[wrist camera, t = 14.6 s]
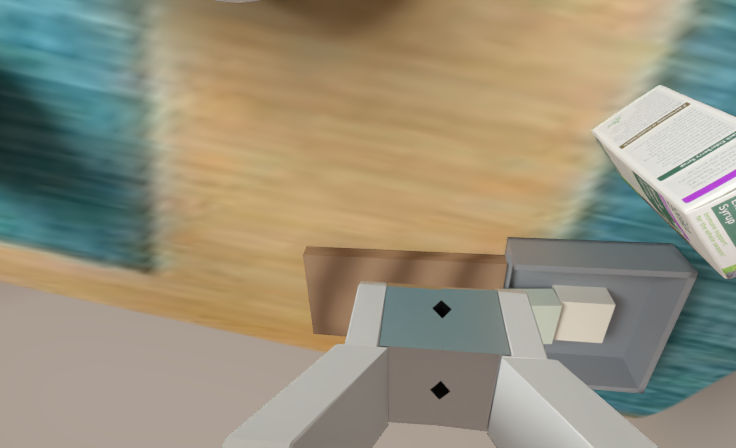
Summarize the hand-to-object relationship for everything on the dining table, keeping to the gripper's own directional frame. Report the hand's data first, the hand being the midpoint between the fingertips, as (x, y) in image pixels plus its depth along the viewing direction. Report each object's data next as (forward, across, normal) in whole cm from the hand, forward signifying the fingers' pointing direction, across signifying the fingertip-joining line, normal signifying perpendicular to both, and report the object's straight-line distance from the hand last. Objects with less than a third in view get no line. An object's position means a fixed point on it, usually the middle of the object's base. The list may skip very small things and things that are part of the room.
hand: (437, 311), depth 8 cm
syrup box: (+29, -17, +6) cm, 34 cm away
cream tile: (+29, -16, +24) cm, 40 cm away
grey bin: (+29, -15, +24) cm, 41 cm away
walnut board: (+29, +2, +24) cm, 38 cm away
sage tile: (+28, -10, +24) cm, 38 cm away
